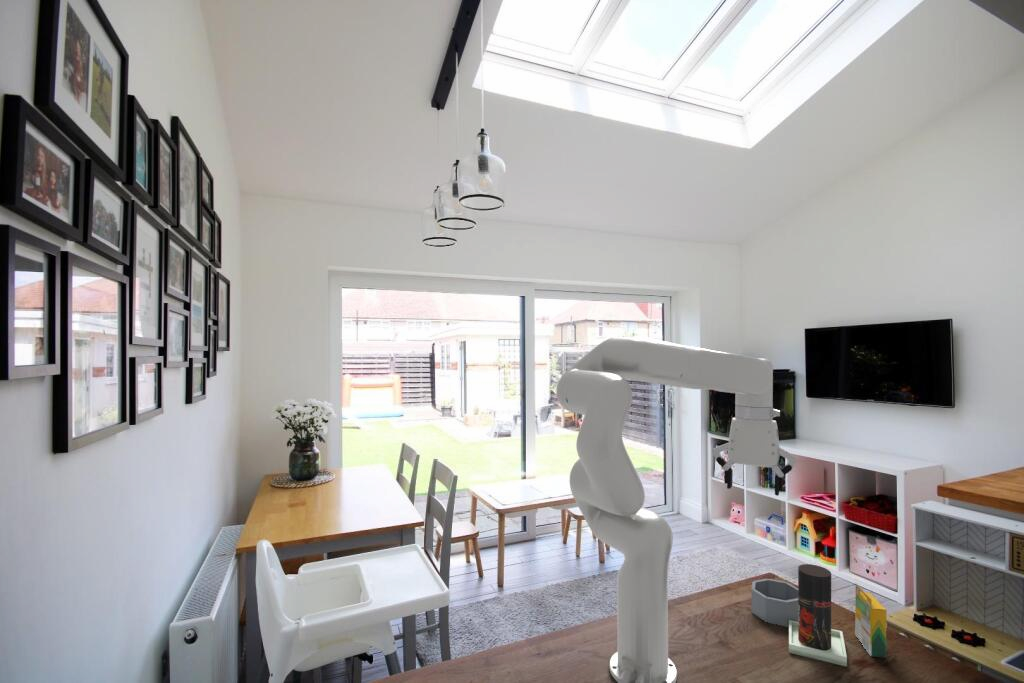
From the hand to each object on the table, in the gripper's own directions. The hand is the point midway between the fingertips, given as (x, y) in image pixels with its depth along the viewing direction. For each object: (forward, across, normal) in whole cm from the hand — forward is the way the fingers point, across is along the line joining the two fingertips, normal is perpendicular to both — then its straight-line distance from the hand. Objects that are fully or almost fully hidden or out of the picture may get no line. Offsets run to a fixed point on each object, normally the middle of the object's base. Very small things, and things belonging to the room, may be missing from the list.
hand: (752, 490), depth 117 cm
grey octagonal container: (+30, -4, -8) cm, 31 cm away
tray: (+30, -12, +2) cm, 33 cm away
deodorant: (+29, -12, +2) cm, 32 cm away
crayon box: (+30, -22, -3) cm, 37 cm away
